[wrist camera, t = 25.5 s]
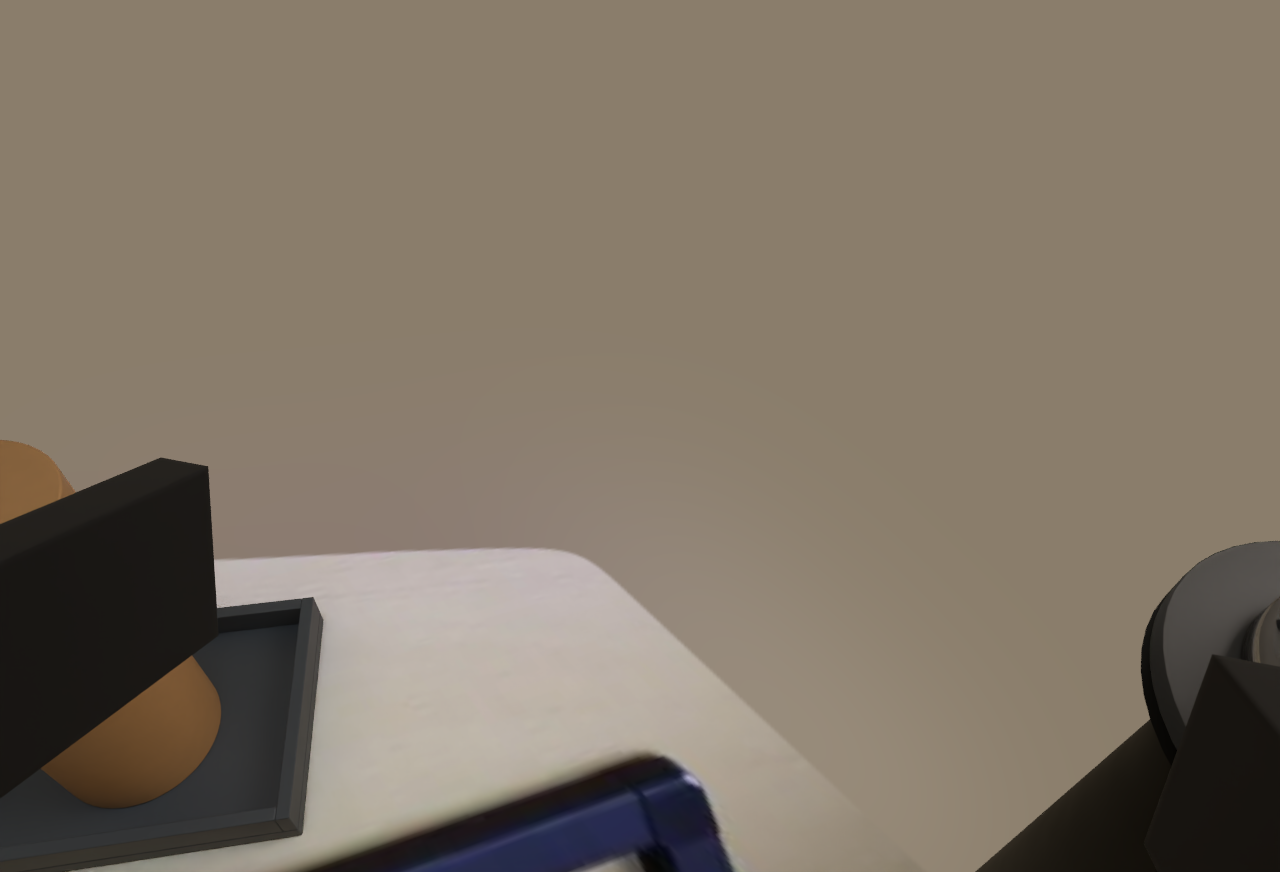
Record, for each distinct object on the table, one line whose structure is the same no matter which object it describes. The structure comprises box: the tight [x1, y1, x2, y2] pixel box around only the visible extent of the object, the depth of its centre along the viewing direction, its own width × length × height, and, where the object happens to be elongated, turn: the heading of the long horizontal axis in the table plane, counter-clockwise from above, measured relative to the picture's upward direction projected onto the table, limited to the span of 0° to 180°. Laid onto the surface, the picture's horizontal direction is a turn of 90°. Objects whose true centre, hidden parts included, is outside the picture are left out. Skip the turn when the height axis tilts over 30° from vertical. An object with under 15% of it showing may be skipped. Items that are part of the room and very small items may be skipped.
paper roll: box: [0, 440, 221, 809], centre depth 34 cm, size 7×7×17 cm
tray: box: [0, 597, 323, 872], centre depth 40 cm, size 15×11×2 cm
